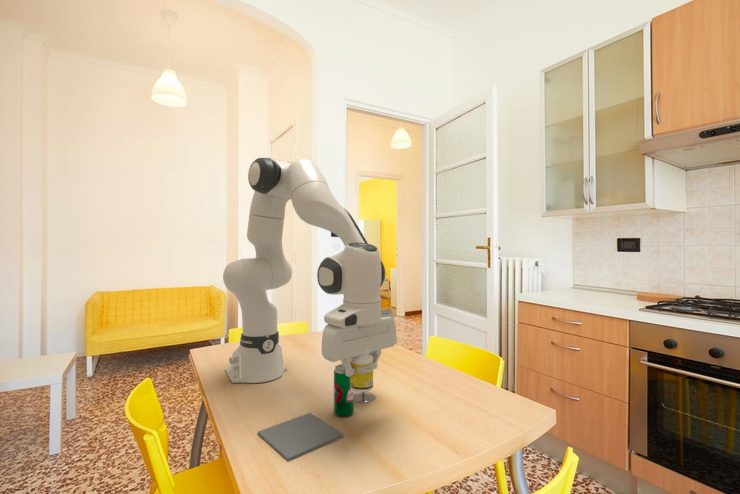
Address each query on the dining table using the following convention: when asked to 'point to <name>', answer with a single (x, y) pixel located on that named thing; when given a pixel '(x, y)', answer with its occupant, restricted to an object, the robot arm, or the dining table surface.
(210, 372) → the dining table surface
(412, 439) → the dining table surface
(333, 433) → the mat
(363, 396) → the wine glass
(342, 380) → the soda can
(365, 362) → the supplement bottle
